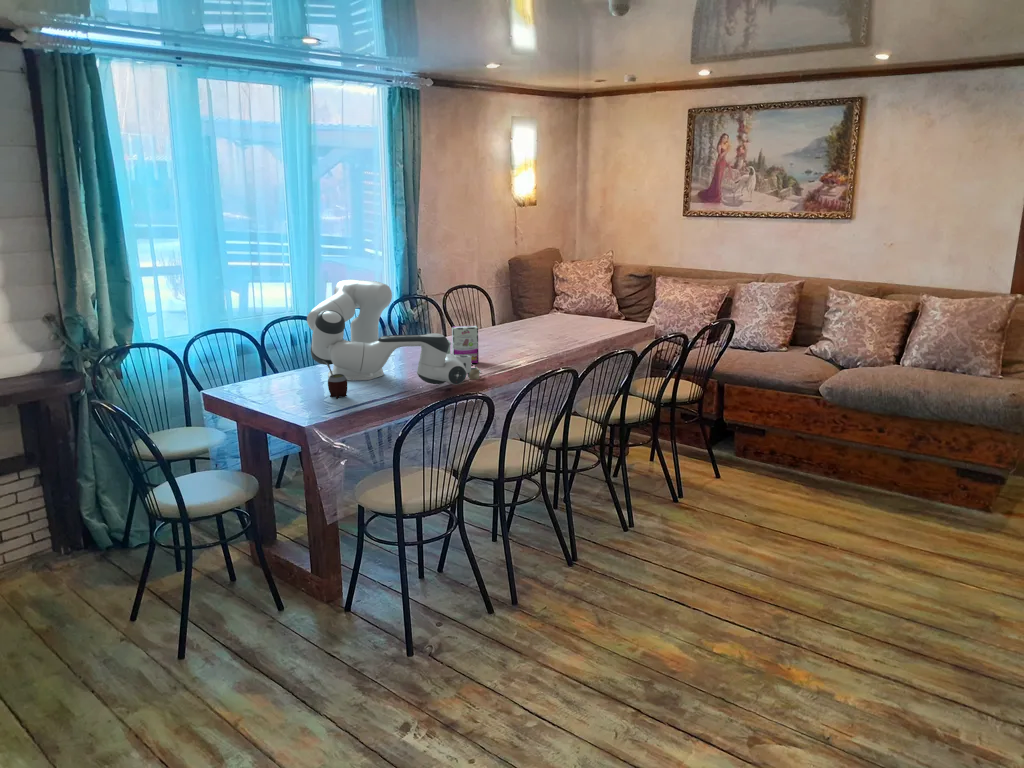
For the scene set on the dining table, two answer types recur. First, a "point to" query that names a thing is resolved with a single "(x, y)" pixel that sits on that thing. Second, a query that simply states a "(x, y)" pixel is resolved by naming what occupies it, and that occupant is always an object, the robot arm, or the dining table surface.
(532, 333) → the dining table surface
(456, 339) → the candy bar box
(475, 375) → the letter cube
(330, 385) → the mate gourd
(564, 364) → the dining table surface
